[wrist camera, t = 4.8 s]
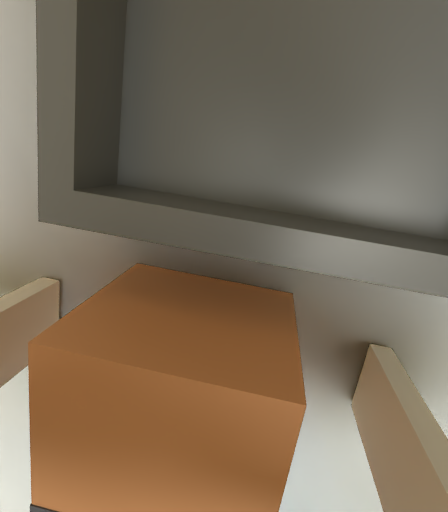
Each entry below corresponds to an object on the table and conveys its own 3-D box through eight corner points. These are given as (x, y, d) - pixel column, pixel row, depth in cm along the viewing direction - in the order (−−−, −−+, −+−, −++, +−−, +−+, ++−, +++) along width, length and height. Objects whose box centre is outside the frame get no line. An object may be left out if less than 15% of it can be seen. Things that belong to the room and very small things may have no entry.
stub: (136, 263, 13) (25, 343, 7) (293, 293, 12) (307, 407, 7) (128, 373, 14) (30, 513, 9) (267, 406, 14) (261, 579, 8)
